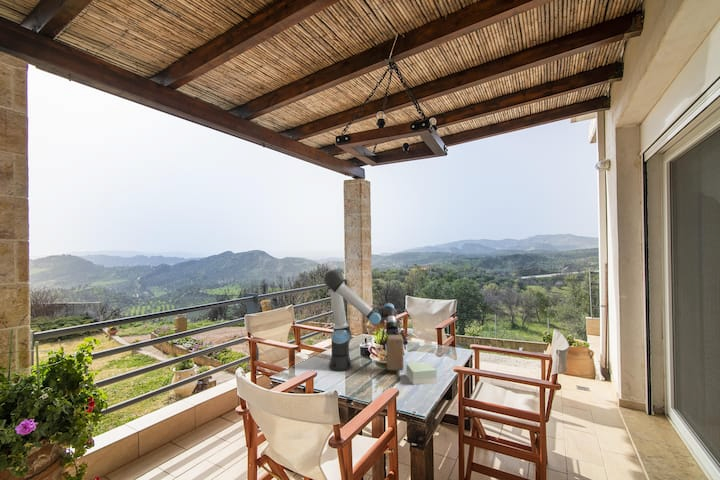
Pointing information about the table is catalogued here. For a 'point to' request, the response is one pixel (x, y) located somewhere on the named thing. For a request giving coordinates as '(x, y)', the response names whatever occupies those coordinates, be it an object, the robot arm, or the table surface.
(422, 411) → the table surface
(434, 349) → the table surface
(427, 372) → the tower top slab
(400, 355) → the wooden block
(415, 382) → the tower base slab
